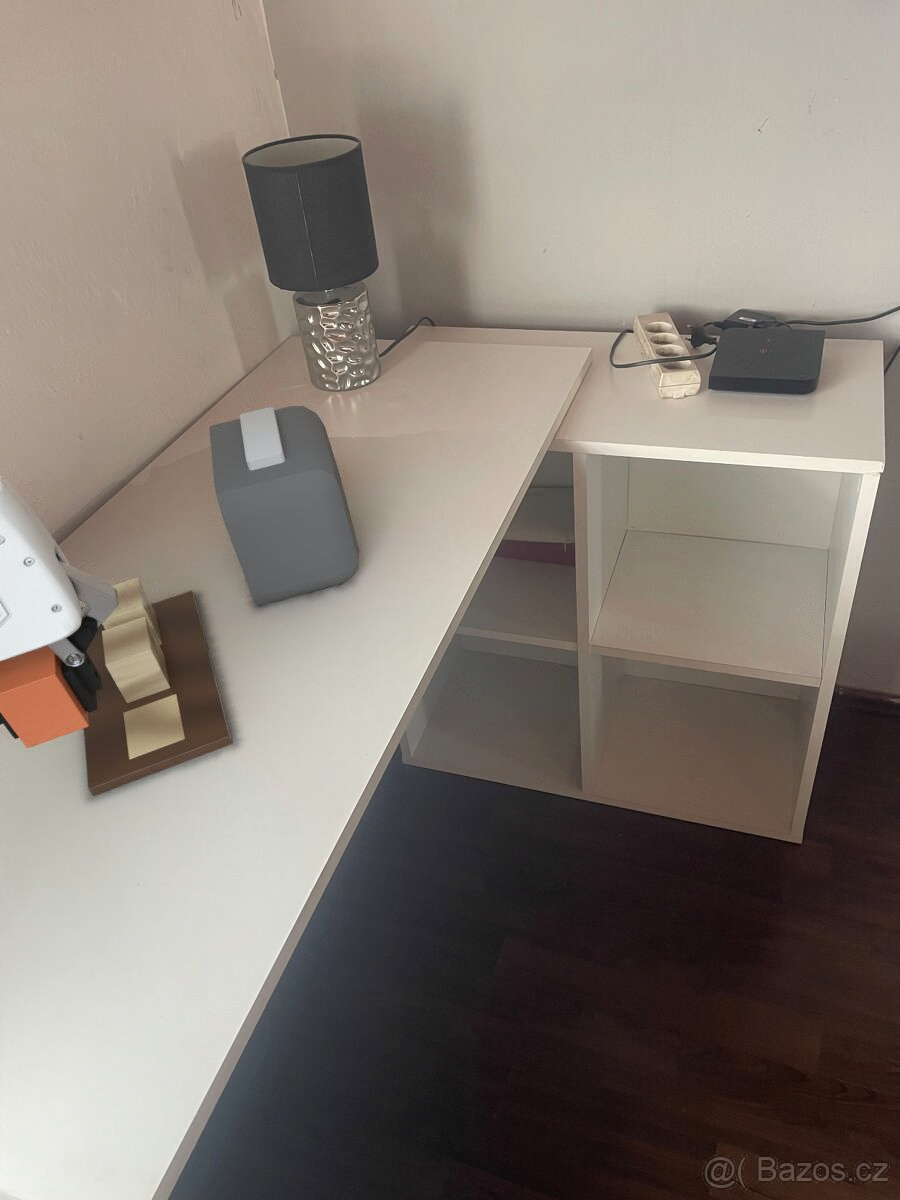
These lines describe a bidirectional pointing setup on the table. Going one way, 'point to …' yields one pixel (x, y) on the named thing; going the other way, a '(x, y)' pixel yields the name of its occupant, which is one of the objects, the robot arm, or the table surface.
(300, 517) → the alarm clock
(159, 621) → the word board
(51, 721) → the terracotta orange cube
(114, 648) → the cream wooden block
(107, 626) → the beige wooden cube
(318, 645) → the table surface
